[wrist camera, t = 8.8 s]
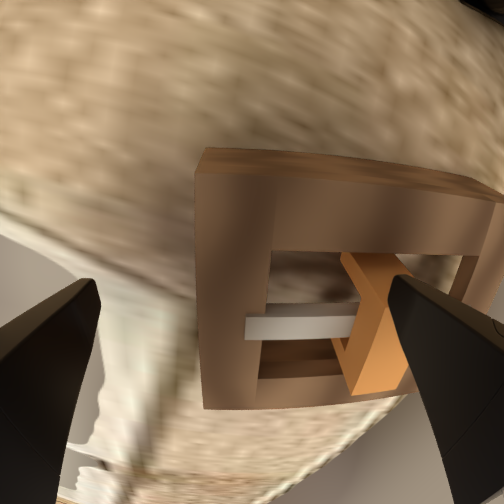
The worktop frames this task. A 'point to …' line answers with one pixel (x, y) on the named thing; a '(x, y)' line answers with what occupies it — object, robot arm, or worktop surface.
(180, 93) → the worktop surface
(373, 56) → the worktop surface
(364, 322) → the orange angular block
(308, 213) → the shelf
